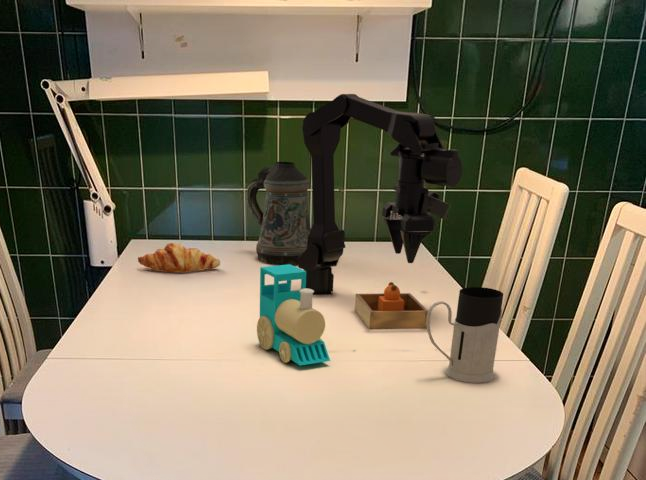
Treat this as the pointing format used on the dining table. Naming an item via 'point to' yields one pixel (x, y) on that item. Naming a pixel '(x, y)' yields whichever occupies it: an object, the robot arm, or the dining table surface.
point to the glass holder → (473, 334)
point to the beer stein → (281, 213)
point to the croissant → (178, 259)
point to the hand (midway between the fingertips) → (404, 258)
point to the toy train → (290, 317)
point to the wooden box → (391, 313)
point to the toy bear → (391, 299)
